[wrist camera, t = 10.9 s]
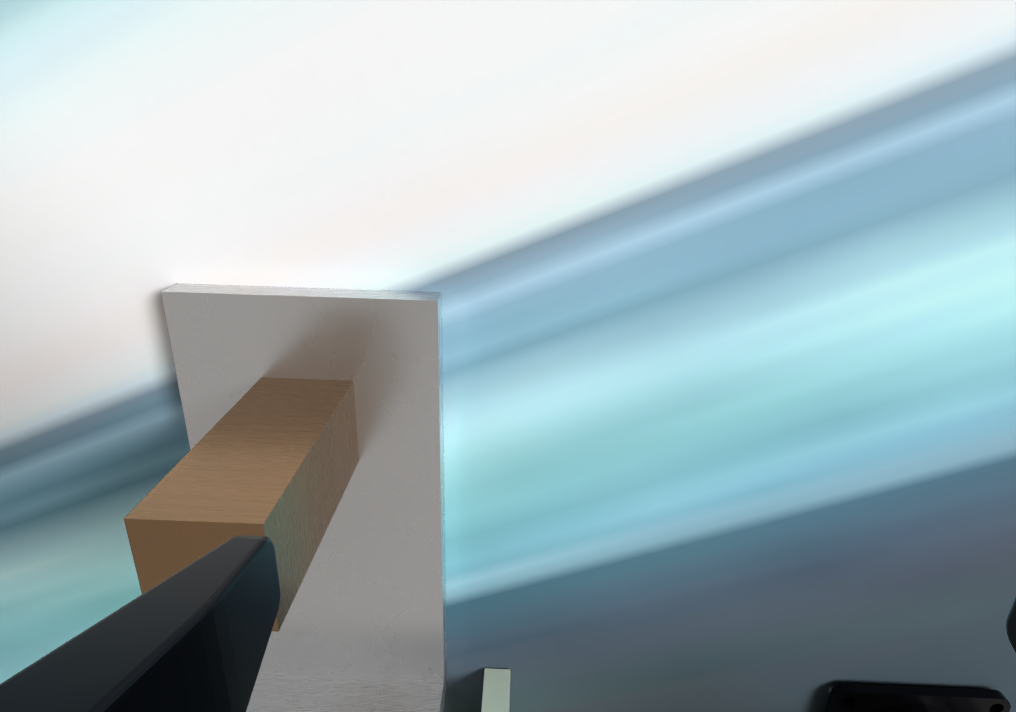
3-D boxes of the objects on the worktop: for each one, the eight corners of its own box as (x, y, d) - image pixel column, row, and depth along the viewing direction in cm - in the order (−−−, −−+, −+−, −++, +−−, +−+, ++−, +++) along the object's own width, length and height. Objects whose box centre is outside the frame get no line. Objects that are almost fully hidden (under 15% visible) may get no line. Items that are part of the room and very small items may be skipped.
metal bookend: (178, 282, 19) (-44, 396, 12) (442, 291, 19) (387, 411, 11) (246, 673, 25) (128, 913, 18) (447, 682, 25) (413, 927, 17)
